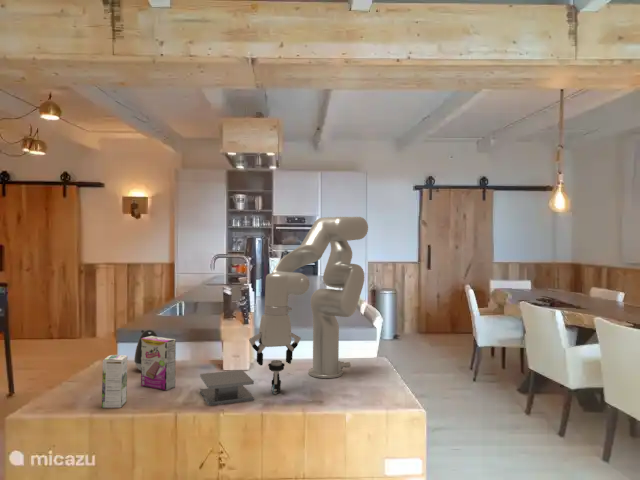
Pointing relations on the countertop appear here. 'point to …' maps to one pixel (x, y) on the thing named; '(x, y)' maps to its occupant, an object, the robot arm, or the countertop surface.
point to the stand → (226, 387)
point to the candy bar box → (158, 362)
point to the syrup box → (114, 381)
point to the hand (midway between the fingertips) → (274, 363)
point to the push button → (276, 375)
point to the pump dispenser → (138, 348)
